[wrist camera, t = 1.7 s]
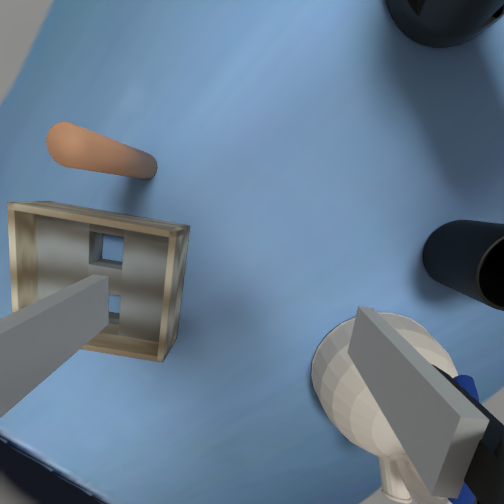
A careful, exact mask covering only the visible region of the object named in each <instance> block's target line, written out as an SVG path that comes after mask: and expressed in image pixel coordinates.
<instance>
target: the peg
mask: <svg viewBox="0 0 504 504" xmlns="http://www.w3.org/2000/svg"><path fill="white" fill-rule="evenodd" d="M46 143H47V148H48V151H49V153H50V155H51V157H52V158H53V159H54V160H55V161H56V162H57V163H59V164H60V165H62V166H65V167H69V168H76V169H83V170H89V171H96V172H102V173H109V174H115V175H122V176H128V177H135V178H141V179H150V178H152V177H153V176H154V175H155V174H156V172H157V162H156V160H155V158H154V157H153V156H152V155H150V154H148V153H146V152H143V151H140V150H138V149H135V148H133V147H130V146H128V145H125V144H123V143H120V142H118V141H115V140H112V139H110V138H107V137H105V136H102V135H100V134H97V133H95V132H92V131H90V130H87V129H84V128H82V127H79V126H77V125H74V124H72V123H68V122H60V123H57V124H55V125H54V126H52V127H51V129H50V130H49V132H48V134H47V139H46Z"/></svg>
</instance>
